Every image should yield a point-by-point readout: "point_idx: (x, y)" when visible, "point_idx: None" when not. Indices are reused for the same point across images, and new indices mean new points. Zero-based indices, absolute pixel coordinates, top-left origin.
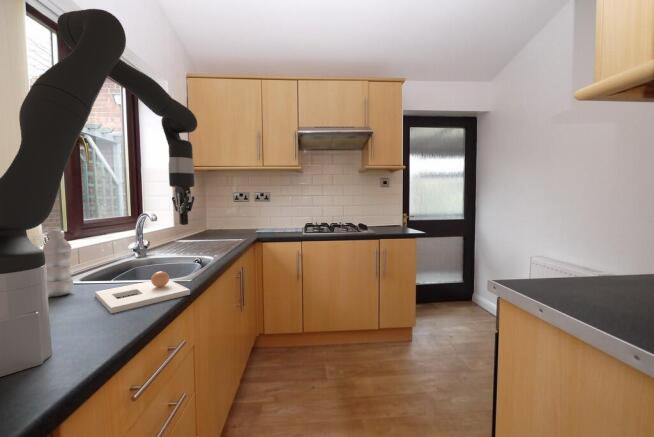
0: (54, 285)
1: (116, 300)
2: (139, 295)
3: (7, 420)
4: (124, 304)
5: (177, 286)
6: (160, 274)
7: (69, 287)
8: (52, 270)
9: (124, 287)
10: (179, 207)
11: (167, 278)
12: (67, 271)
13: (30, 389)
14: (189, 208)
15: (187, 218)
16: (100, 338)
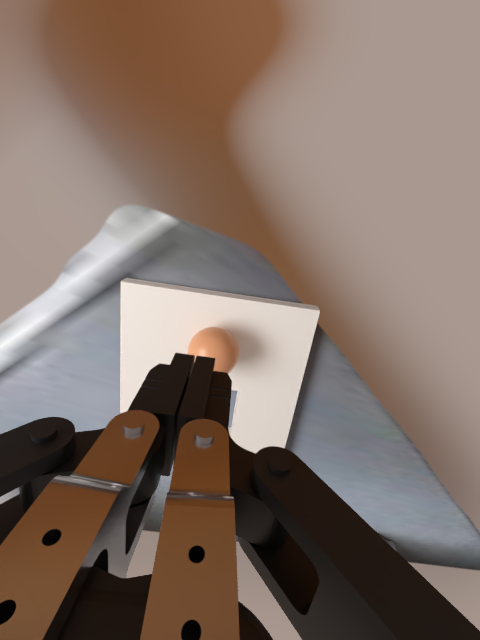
0: None
1: (239, 439)
2: (247, 402)
3: (476, 569)
4: (284, 441)
5: (256, 313)
6: (228, 367)
7: None
8: None
9: (135, 392)
10: (134, 549)
11: (235, 343)
12: None
13: (439, 554)
14: (299, 499)
15: (209, 388)
16: (380, 491)
